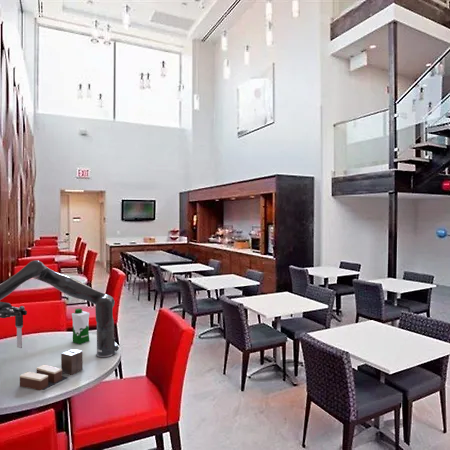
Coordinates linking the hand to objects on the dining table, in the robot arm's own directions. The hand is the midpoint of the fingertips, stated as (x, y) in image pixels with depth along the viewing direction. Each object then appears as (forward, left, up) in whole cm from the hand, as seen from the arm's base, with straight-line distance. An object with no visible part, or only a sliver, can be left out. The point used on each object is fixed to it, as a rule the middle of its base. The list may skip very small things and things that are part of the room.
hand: (23, 313), depth 177 cm
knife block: (-21, +3, -32) cm, 38 cm away
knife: (+2, -2, -17) cm, 17 cm away
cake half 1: (-4, +12, -31) cm, 34 cm away
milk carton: (-30, -42, -32) cm, 61 cm away
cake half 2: (-11, +7, -31) cm, 34 cm away
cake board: (-8, +9, -32) cm, 34 cm away
